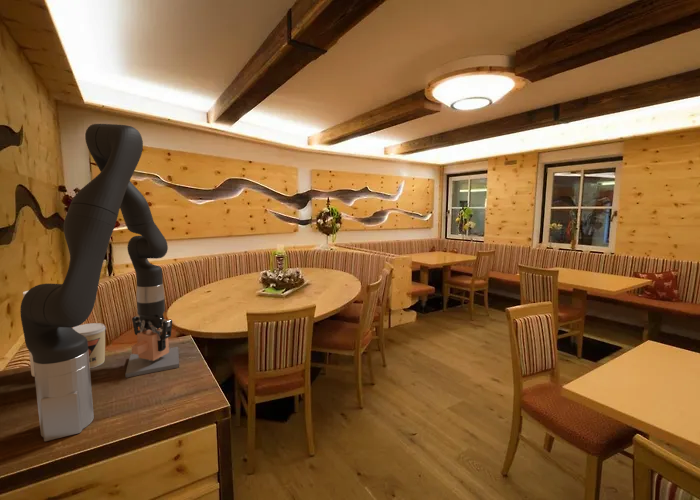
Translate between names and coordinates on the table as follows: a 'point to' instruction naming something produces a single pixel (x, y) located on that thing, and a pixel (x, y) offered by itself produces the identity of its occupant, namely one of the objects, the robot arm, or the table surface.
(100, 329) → the coffee cup
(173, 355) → the base
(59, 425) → the robot arm
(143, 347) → the orange hollow box
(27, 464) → the table surface
